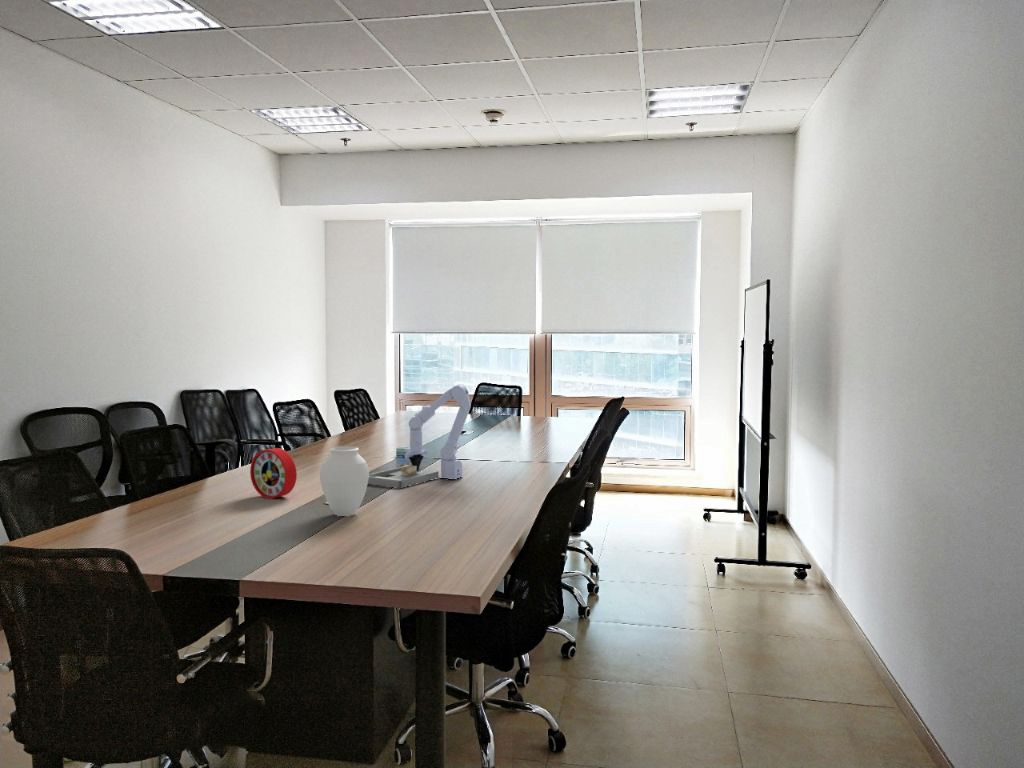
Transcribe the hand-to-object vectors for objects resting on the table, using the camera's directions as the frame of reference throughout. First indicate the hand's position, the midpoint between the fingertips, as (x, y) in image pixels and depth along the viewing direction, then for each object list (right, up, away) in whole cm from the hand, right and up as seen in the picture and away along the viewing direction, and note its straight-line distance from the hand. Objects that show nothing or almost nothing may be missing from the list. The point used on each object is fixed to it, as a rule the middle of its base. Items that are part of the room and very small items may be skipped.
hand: (416, 470), depth 362 cm
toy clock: (-53, -6, -45) cm, 70 cm away
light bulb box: (-7, -2, +24) cm, 25 cm away
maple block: (-3, -1, -4) cm, 5 cm away
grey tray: (-6, -4, -10) cm, 12 cm away
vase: (-17, -8, -75) cm, 77 cm away
